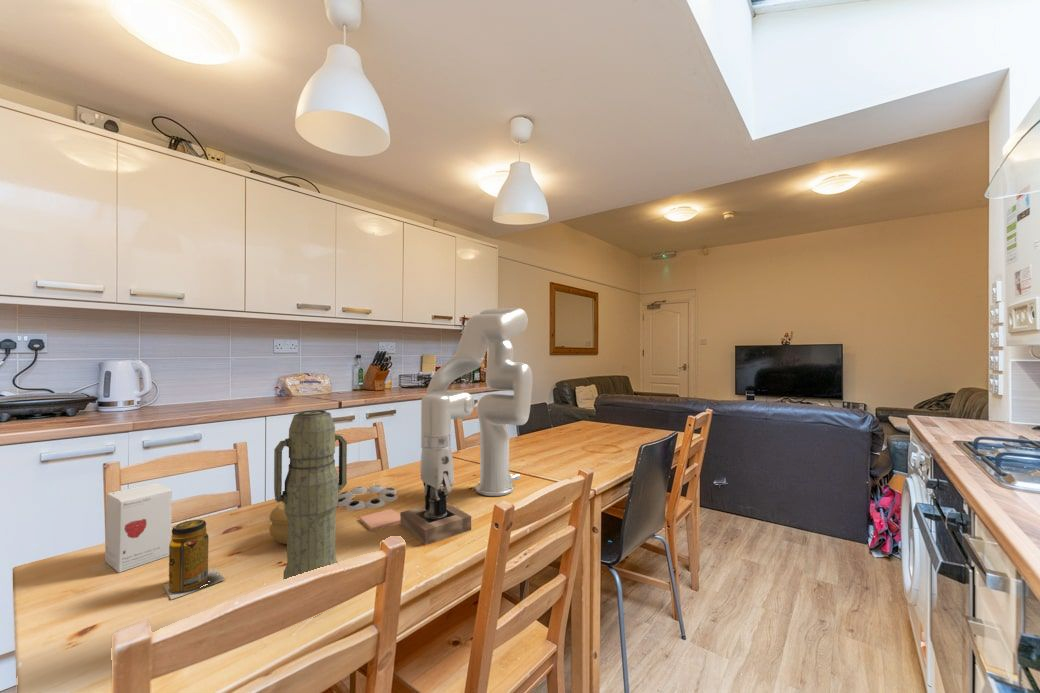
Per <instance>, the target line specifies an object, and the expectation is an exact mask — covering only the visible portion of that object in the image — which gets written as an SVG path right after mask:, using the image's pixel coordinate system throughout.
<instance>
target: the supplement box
mask: <svg viewBox="0 0 1040 693" xmlns="http://www.w3.org/2000/svg"><path fill="white" fill-rule="evenodd" d="M172 491H173V489H172V488H170V487H167V486H164V485H162V484H161V483H159V482H156V483H155V482H154V483H152V484H151V483H150V484H146V485H142V486H137V487H131V488H127V489H122V490H118V491H114V492H113V491H112V492H108V493H106V505H105V506H106V507H105V508H106V509H105V510H106V512H105V513H106V515H105V544H104V545H105V547H104V548H105V549H104V550H105V552H104V554H105V555H104V556H105V557H104V562H106V563H107V564H108V565H109V566H110V567H111V568H113V569H114V570H115V571H116V572H117V573H121V572H125V571H128V570H132V569H133V568H136V567H140V566H142V565H143V566H144V565H147V564H149V563H151V562H155V561H158V560H161V559H163V558H167V557H169V545H170V542H171V541H172V505H173V504H172V501H173V500H172V499H173V497H172V496H173V495H172V493H173V492H172Z"/></svg>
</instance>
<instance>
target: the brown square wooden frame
mask: <svg viewBox="0 0 1040 693" xmlns="http://www.w3.org/2000/svg"><path fill="white" fill-rule="evenodd" d="M427 511H429V510H426V509H425V505H422V506H419V507H415V508H411V509H408V510H404V511H401V512H400V514H399V515H400V523H399V524H400V527H402V528H403V529H404V530H405V531H406V532H408V533H409V534H411V535H412V536H413V537H415V538H416V539H417V540H418V541H419V542H421V543H422V544H423V545H424V546H426V545H430V544H432V543H436V542H439V541H441V540H444V539H445V540H446V539H448V538H450V537H453V536H457V535H460V534H463V533H466V532H468V531H472V515H470V514H468V513H467V512H465V511H463V510H461V509H459V508H458V507H456V506H455V505H453V504H450V503H449V502H447V501H446V512H447V515H446V518H444V519H441V520H437V521H434V522H431V523H429V522H427V521H426V519H425V516H424V514H425V513H426V512H427Z"/></svg>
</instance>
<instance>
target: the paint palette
mask: <svg viewBox="0 0 1040 693" xmlns="http://www.w3.org/2000/svg"><path fill="white" fill-rule="evenodd" d="M366 492H369V493H368V494H378V492H379V497H378V498H377V497H376V498H374V497H373V498H371V499H369V500H368V501H366V502H364V501H363V500H360V499H355V500H354V499H353V498H352V497H354V496H355V497H356V495H354V494H362V493H365V494H367V493H366ZM397 493H398V490H396V489H395V488H393V487H384V486H382V485H376V484H375V485H374V484H373V485H371V486H370V487H369V488H368V489H367V488H366V487H364V486H359V487H353V488H352V489H351V490H350V491H349V490H348V491H343V492H339V493H338V505H337V506H344V508H346V509H345V510H347V509H349V510H348V511H357V510H362V509H364V508H367V509H376V508H377V509H378V508H380V507H383V506H385V504H386V503H389V502H395V501H396V500H398V498H399V497H398V496H397ZM362 495H363V494H362ZM380 495H381V496H380ZM390 495H391V496H390ZM355 497H354V498H355ZM350 498H352V499H350ZM339 500H342V501H339ZM372 501H373V502H377V503H372ZM353 503H354V504H353Z"/></svg>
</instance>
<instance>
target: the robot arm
mask: <svg viewBox="0 0 1040 693" xmlns="http://www.w3.org/2000/svg"><path fill="white" fill-rule="evenodd" d="M528 323H529V319H528V314H527V312H526V310H524V309H522V308H519V307H511V308H510V307H507V308H506V307H505V308H489V309H484V310H482V311H480V312H479V314H474V315H472V316H470V317H469V318H468V319H467V322H466V324H465V326H464V330H463V332H462V334H461V337H460V340H459V343H458V345H457V348H456V351H455V354H454V355H453V356H452V357H451V358H449V359H448V360H447V361H446V362H445V363H444V364H443V365H441V367H440V368H438V369H437V371H436V372H435V373H434V374H433V375H432V377H431V379H430V380H429V383H428V386H427V389H426V391H425V395H423V396H422V398H421V402H420V403H421V404H420V405H421V406H420V407H421V409H420V410H421V412H420V416H421V417H420V422H421V424H420V425H421V426H420V429H421V430H420V432H421V433H420V438H421V439H420V448H421V454H420V479H421V481H422V483H423V488H424V490H423V491H424V492H423V493H424V495H425V496H424V501H425V503H424V506H425V509H426V510H429V509H430V501H429V498H430V488H431V486H432V487H434V488H435V494H436V500H434V515H435V516H438V515H442V514H445V513H446V502H447V499H448V496H449V494H450V493H451V492H452V490H453V489H452V486H453V485H454V481H455V476H454V475H455V474H454V472H455V471H454V460H453V453H452V448H451V420H454V419H455V420H456V419H457V420H458V419H461V420H462V419H465V418H467V417H469V416H471V415H472V413H473V412H474V409H475V400H474V397H473V396H472V394H471V393H469V392H466V391H463V390H462V391H461V390H451V389H448V387H450V385H451V384H452V383H453V382H454V381H455V380H457V379H459V378H461V377H462V376H464V375H467V374H470V373H472V372H473V371H475V370H478V369H480V368H481V367H482V366H483V362H484V359H485V356H486V354H488V355H487V362H486V370H485V384H486V386H487V387H488V389H490V390H495V391H505V392H507V391H509V392H513V395H511V394H503V393H502V394H500V393H499V394H497V393H496V394H495V393H489V394H485V395H483V396H481V397H480V398H479V400H478V403H477V408H476V409H477V411H476V412H477V416H478V422H479V432H480V438H479V439H480V444H479V445H480V446H479V447H480V449H479V450H480V451H479V452H480V454H479V455H480V456H479V458H480V461H479V462H480V463H479V464H480V466H479V470H480V471H479V472H480V473H479V476H480V479H479V483H477V484H476V485H475V488H474V489H475V492H476V493H477V494H479V495H481V496H487V497H500V496H506V495H509V494H510V493H512V492H513V491H514V485H513V482H514V481H518V480H520V479H521V474H519V473H515V474H512V473H510V435H509V432H508V429H507V428H506V425H509V426H510V425H511V426H523V425H525V424H526V423H527V422H528V420H529V417H530V413H531V405H532V404H531V402H532V394H533V378H534V377H533V371H532V369H531V366H530V365H529V364H527V363H524V362H521V361H519V362H514V346H513V343H512V342H511V340H513V339H514V338H517V337H518V336H521V335H522V334H523V333H525V331H526V329H527V328H528ZM487 350H488V351H487ZM487 352H488V353H487ZM439 490H441V492H440V494H439Z"/></svg>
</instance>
